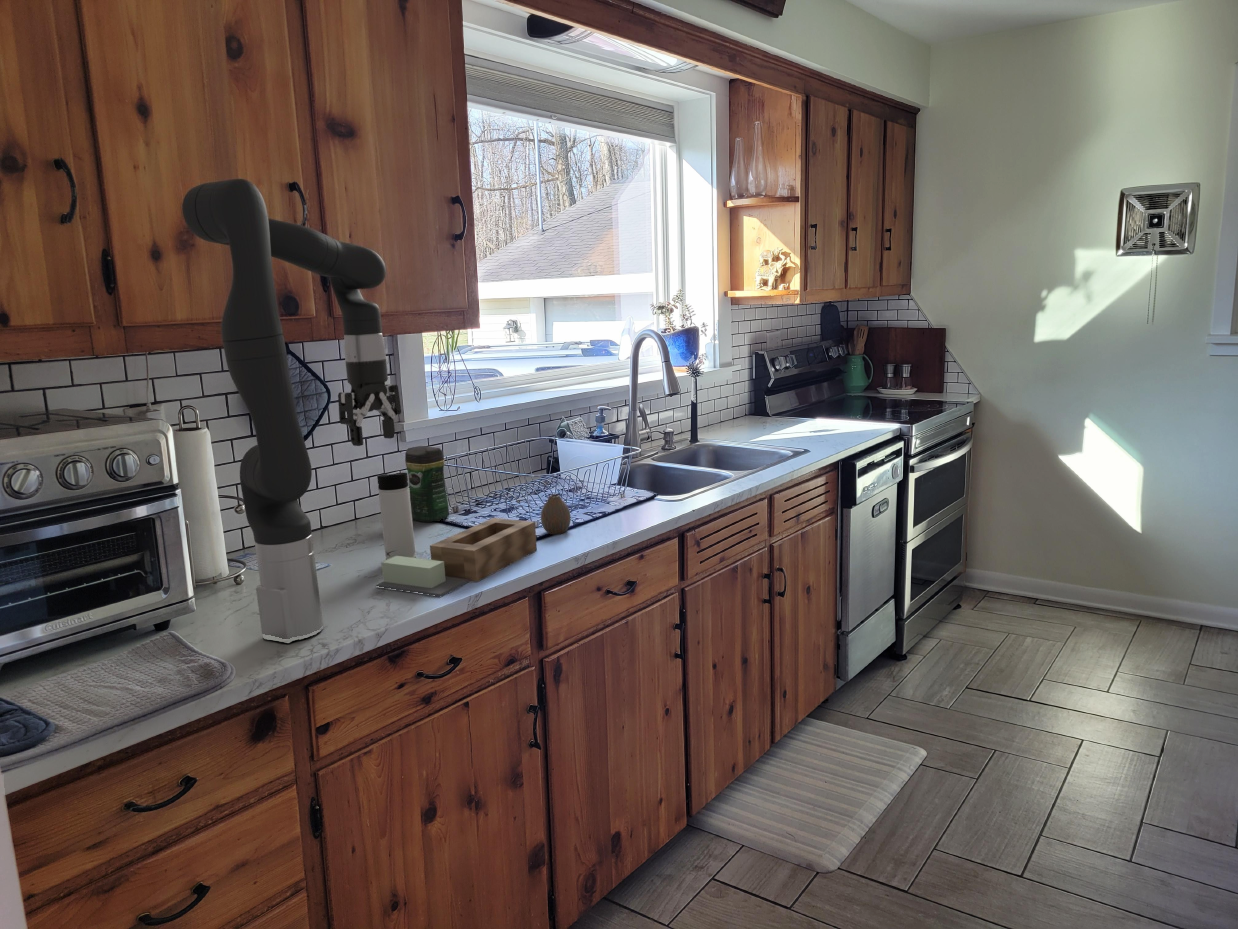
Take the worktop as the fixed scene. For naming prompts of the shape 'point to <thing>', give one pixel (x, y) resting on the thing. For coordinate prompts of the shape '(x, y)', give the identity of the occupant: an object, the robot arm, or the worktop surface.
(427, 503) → the coffee jar
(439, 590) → the grey flat plate
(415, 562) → the block
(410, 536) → the travel mug
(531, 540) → the brown wooden box
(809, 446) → the worktop surface
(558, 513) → the vase
